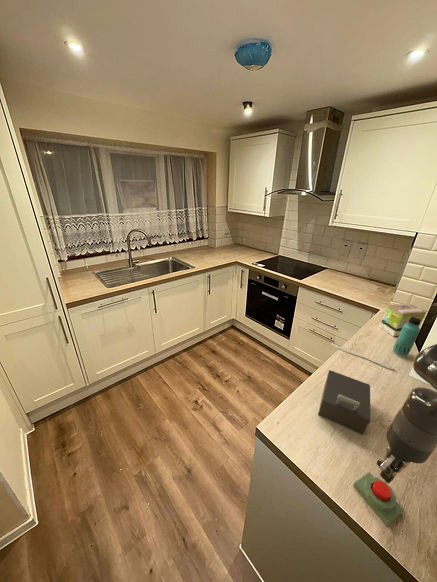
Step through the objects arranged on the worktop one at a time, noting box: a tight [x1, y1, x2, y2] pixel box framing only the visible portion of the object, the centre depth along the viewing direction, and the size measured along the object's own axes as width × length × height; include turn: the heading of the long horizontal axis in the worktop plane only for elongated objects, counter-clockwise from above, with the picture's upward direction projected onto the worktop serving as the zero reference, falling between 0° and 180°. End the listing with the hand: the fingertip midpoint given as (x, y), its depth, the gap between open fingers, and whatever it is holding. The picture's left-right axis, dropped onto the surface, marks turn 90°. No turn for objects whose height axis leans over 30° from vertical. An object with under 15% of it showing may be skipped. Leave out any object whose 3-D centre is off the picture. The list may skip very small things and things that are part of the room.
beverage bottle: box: [392, 317, 422, 357], centre depth 109 cm, size 6×7×20 cm
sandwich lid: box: [322, 369, 371, 425], centre depth 81 cm, size 17×14×5 cm
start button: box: [372, 480, 391, 501], centre depth 59 cm, size 4×4×2 cm
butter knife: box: [330, 342, 395, 371], centre depth 111 cm, size 1×27×3 cm
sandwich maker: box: [317, 375, 369, 436], centre depth 84 cm, size 16×14×6 cm
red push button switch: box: [352, 471, 405, 527], centre depth 60 cm, size 6×9×4 cm
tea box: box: [378, 303, 427, 337], centre depth 129 cm, size 15×10×15 cm, turn 102°
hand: (385, 478), depth 57 cm, fingers closed
